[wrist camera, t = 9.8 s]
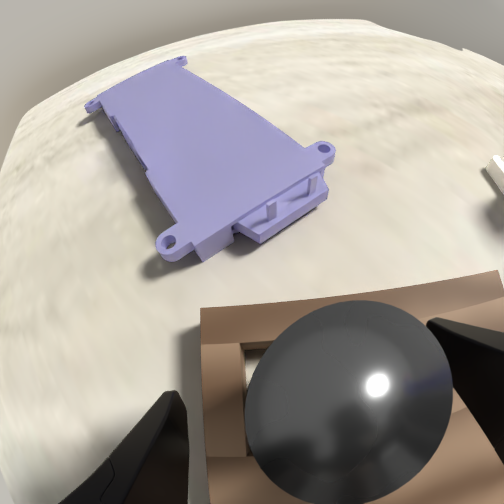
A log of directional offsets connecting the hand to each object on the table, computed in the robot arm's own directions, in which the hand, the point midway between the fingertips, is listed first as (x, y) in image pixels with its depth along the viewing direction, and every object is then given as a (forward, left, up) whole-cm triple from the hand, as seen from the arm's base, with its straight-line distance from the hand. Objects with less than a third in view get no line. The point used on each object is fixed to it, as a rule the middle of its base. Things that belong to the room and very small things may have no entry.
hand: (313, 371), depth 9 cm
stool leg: (-1, 0, -7) cm, 8 cm away
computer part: (+22, +8, -8) cm, 25 cm away
